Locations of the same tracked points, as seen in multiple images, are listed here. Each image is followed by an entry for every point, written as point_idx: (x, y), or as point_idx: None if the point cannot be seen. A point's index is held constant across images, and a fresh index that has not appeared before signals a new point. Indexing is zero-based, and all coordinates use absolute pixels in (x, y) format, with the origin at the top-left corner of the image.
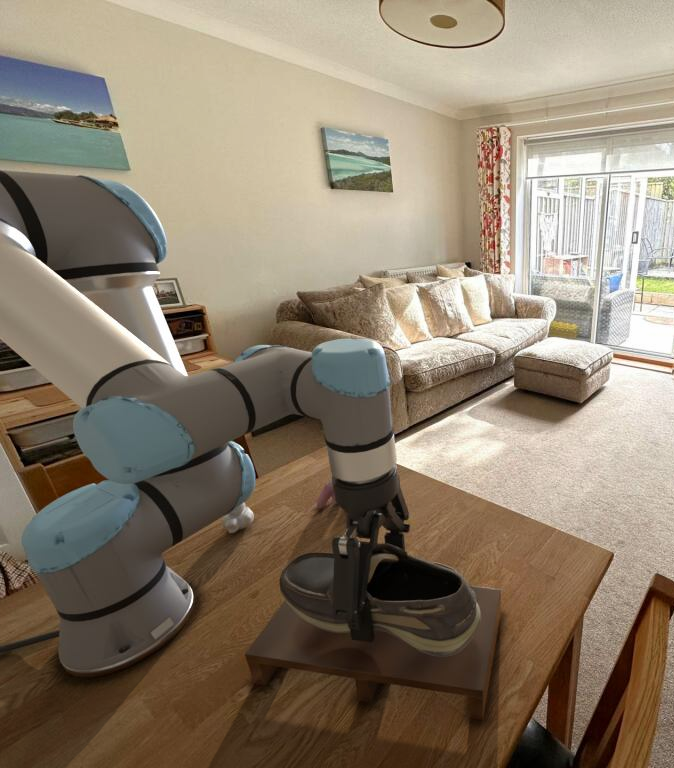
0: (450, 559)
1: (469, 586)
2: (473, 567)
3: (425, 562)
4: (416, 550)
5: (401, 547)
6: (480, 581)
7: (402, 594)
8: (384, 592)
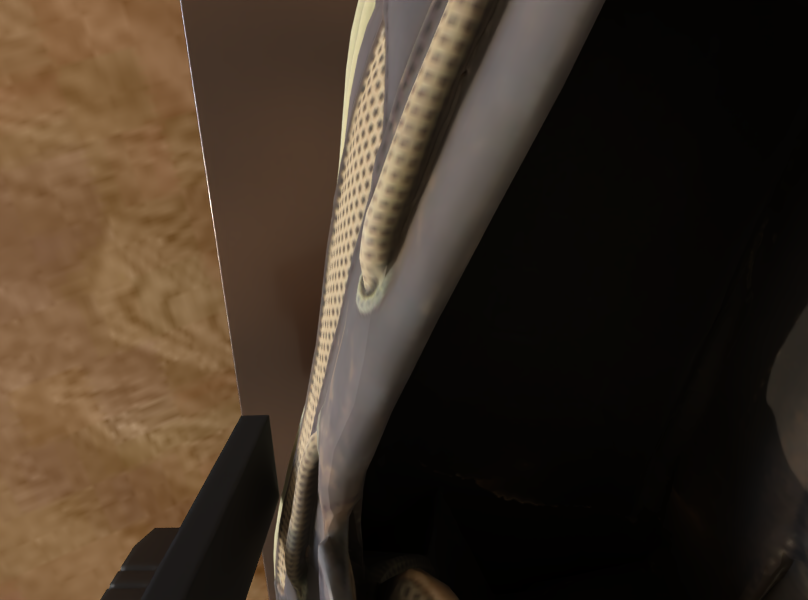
0: (22, 230)
1: (192, 45)
2: (21, 112)
3: (412, 341)
4: (37, 379)
5: (210, 556)
6: (82, 57)
7: (459, 377)
8: (446, 465)
